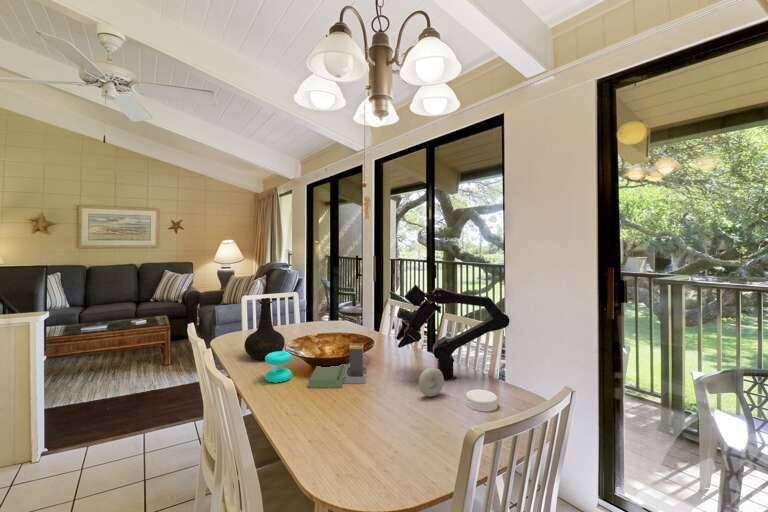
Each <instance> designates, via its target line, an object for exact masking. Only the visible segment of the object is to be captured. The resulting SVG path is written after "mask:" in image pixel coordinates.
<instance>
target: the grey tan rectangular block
mask: <svg viewBox="0 0 768 512" xmlns="http://www.w3.org/2000/svg"><path fill="white" fill-rule="evenodd" d="M348 350H349V367H350V373H349V376H364V373H363V366H364V343H358V342H357V343H350V345H349V349H348Z"/></svg>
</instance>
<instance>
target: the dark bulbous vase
mask: <svg viewBox="0 0 768 512" xmlns="http://www.w3.org/2000/svg"><path fill="white" fill-rule="evenodd" d="M271 304H273V301H271V298H270V297H266V298H265V297H264V298H262V297H261V298H260V301H259V305H260V312H259V313H260V314H259V322H258V327H257V329H256V330H255V331H254V332H252V333H250V334H249V335H248V336H247V338H246V339H245V341H244V351H245V352H246V354H247V355H248V356H249V357H250V358H252V359H254V360H258V359H265V357H266V355H267V354H269V353H272V352H277V351H284V348H285V346H286V340H285V337H284V336H283V335H282V333H281V332H279V331H277V330H275V328H274V325H273V321H272V309H271V308H272V307H271Z"/></svg>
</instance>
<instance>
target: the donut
mask: <svg viewBox="0 0 768 512" xmlns="http://www.w3.org/2000/svg"><path fill="white" fill-rule="evenodd" d="M432 378H433V380H434V381H433V383H432V385H429V382H430V380H431V379H432ZM444 382H445V381H444V377H443V374H442V372H441V371H440V370H439V369H437V367H435V366H434V367H431V366H430V367H428V368H425V369H424V370H423V371H422V372H421V374H420V376H419V377H418V389H419V391H420V392H421V394H423V395H424V396H426V397H429V398H430V397H435V396H437V395H438V394H440V392H441V391H442V390H443V387H444V384H445V383H444Z"/></svg>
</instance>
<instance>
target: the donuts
mask: <svg viewBox="0 0 768 512" xmlns="http://www.w3.org/2000/svg"><path fill="white" fill-rule="evenodd" d="M291 360H292V354H291V353H290V352H288V351H284V350H282V351H277V352H272V353H269V354H267V355H266V357H265V360H264V361H265V363H267V364H268V365H271V366H282V365H286V364H288V363H289V362H290V361H291ZM264 375H265V376H264V378H265V380H266V381H267V382H268V383H271V382H273V384H279V383H278V382H280V383H284V382H286V381H288V380H290V379H291V378H292V375H293V372H292V371H291V370H290V369H288V368H286V367H277V368H276V367H275V368H273V369H270V370H268V371H267V372H266V374H264ZM283 381H284V382H283Z"/></svg>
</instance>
